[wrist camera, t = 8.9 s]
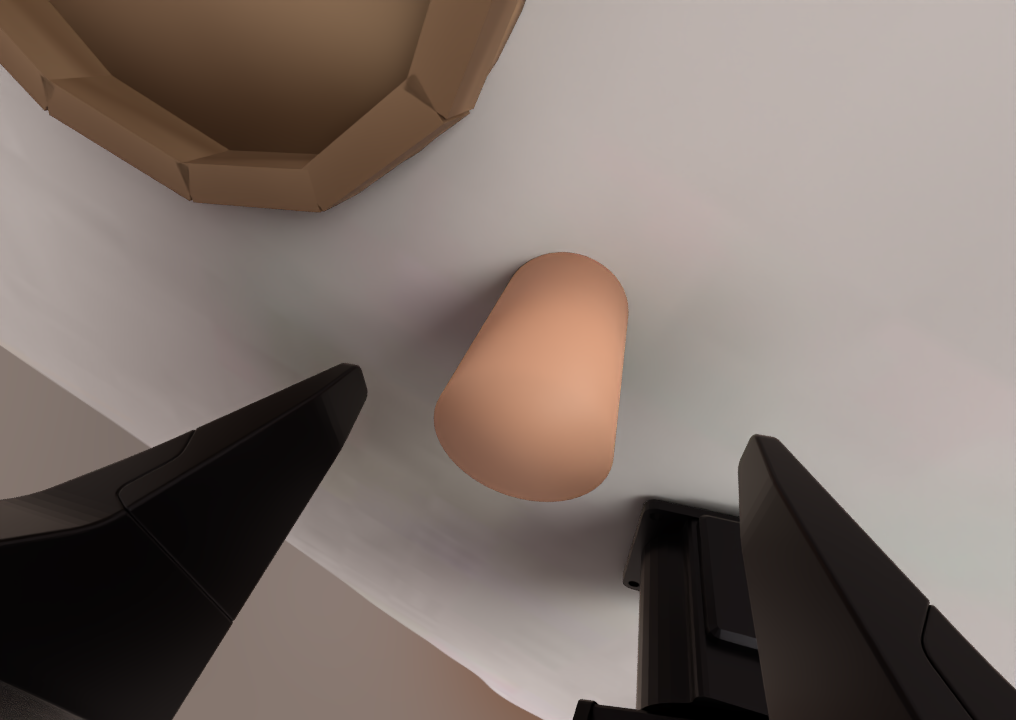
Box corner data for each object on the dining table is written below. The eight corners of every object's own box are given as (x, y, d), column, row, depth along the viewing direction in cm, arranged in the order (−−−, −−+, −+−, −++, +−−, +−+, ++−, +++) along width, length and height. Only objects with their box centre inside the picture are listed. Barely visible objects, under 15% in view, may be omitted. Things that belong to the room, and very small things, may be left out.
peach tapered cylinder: (619, 369, 14) (601, 517, 9) (505, 352, 15) (444, 481, 10) (638, 258, 11) (627, 388, 7) (502, 246, 12) (422, 356, 8)
